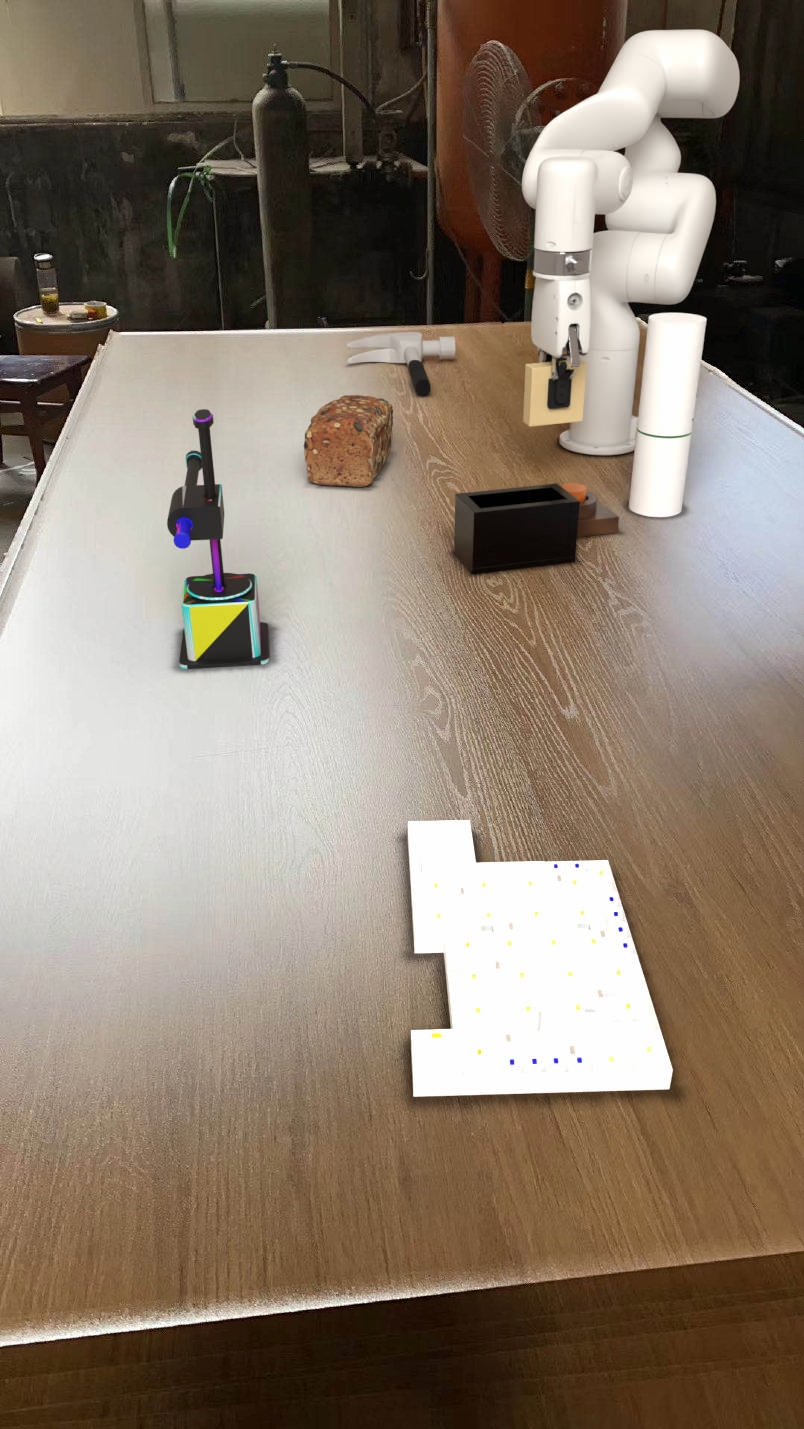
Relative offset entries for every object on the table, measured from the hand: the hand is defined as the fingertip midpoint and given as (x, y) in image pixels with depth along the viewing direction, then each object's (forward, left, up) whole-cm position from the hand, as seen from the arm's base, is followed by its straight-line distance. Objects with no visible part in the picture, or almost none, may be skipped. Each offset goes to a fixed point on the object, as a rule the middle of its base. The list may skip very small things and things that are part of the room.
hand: (553, 403), depth 151 cm
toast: (0, 0, -3) cm, 3 cm away
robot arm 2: (+51, +32, -12) cm, 62 cm away
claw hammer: (+1, -69, -12) cm, 70 cm away
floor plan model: (+39, +88, -12) cm, 98 cm away
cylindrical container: (-11, +12, -12) cm, 20 cm away
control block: (+3, +15, -12) cm, 20 cm away
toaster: (+14, +23, -12) cm, 30 cm away
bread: (+25, -17, -12) cm, 33 cm away
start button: (+3, +15, -8) cm, 18 cm away
